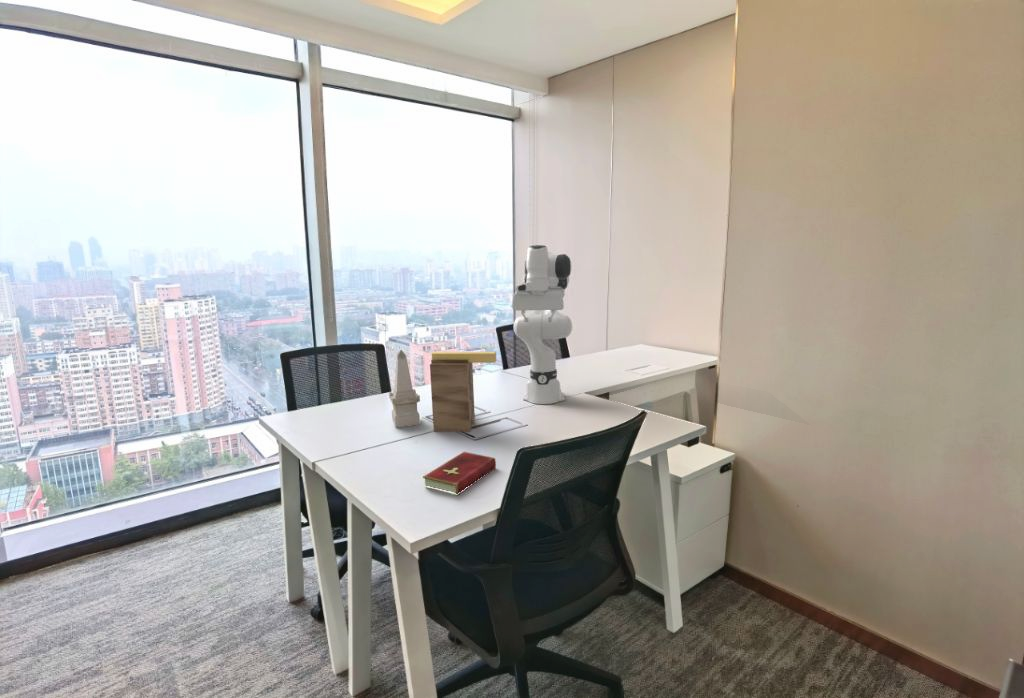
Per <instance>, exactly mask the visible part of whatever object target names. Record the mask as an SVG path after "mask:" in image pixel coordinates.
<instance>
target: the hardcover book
mask: <svg viewBox="0 0 1024 698" xmlns="http://www.w3.org/2000/svg"><path fill="white" fill-rule="evenodd" d="M496 467H497V461H496V457H492V456H488V455H483V454H477V453H473V452H468V451H462V452H461V453H459V454H458V455H456V456H454V457H453V458H451V459H449V460H447V461H446V462H444V463H442V464H440V465H439V466H437V467H436V468H435V469H433V470H432V471H429V472H428V473H426V474H425V475H423V476H422V479H424V486H425V485H426V486H430V487H433V488H438V489H442V490H446V491H451V492H454V493H456V494H458V493H459V492H461V491H462V490H464V489H465V488H466V487H468V486H470V485H471V484H473V483H474V482H475V481H477V480H478V479H480V478H481V477H483V476H484V475H486V474H487V473H488V474H489V472H490V471H491V472H492V470H493V469H494V470H495V469H496ZM494 470H493V471H494ZM491 472H490V473H491ZM488 474H487V475H488ZM487 475H486V476H487ZM484 477H485V476H484ZM484 477H483V478H484ZM481 479H482V478H481ZM481 479H480V480H481ZM477 482H478V481H477ZM474 484H475V483H474ZM474 484H473V485H474ZM470 487H471V486H470Z"/></svg>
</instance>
